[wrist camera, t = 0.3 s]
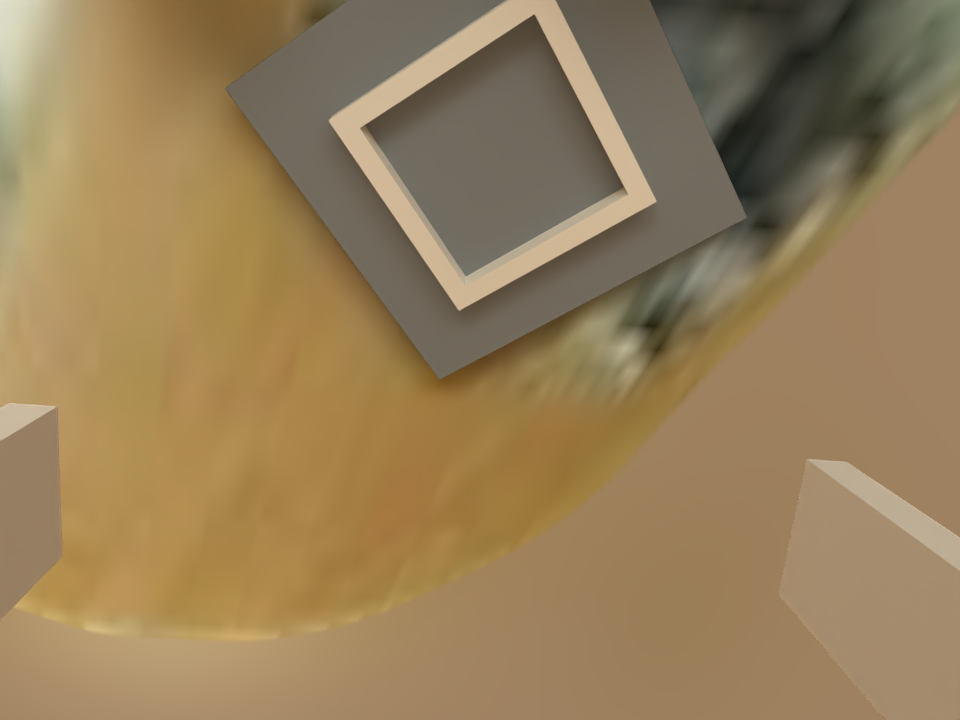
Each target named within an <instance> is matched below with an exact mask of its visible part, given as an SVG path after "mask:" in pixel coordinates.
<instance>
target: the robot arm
mask: <svg viewBox="0 0 960 720" xmlns="http://www.w3.org/2000/svg"><path fill="white" fill-rule="evenodd" d="M61 557H62V531H61V500H60V469H59V438H58V407H57V406H45V405H31V404H17V403H8V404H7V405H5V406H3V407H1V408H0V620H1V619H2V618H3V617H4V616H5V615H6V614H7V613H8V612H9V611H10V610H11V609H12V608H13V607H14V606H15V605H16V604H17V603H18V602H19V600H20V599H21V598H22V597H23V596H24V595H25V594H26V593H27V592H28V591H29V590H30V589H31V588H32V587H33V586H34V585H35V584H36V583H37V582H38V581H39V580H40V579H41V578H42V577H43V576H44V575H45V574H46V573H47V572H48V571H49V570H50V569H51V568H52V567H53V566H54V565H55V564H56V562H57V561H58V560H59V559H60V558H61ZM779 596H780V597H781V598H782V599H783V600H784V602H785V603H786V604H787V605H788V606H789V607H790V609H791V610H792V611H793V612H794V613H795V614H796V616H797V617H798V618H799V619H800V620H801V622H802V623H803V624H804V625H805V626H806V627H807V629H808V630H809V631H810V632H811V633H812V635H813V636H814V637H815V638H816V639H817V640H818V642H819V643H820V644H821V645H822V646H823V647H824V649H825V650H826V651H827V652H828V653H829V654H830V656H831V657H832V658H833V659H834V660H835V661H836V663H837V664H838V665H839V666H840V667H841V669H842V670H843V671H844V672H845V673H846V674H847V676H848V677H849V678H850V679H851V680H852V682H853V683H854V684H855V685H856V686H857V687H858V688H859V690H860V691H861V692H862V693H863V694H864V696H865V697H866V698H867V699H868V700H869V702H870V703H871V704H872V705H873V706H874V707H875V709H876V710H877V711H878V712H879V713H880V714H881V716H882V717H883V718H884V719H885V720H960V537H958V536H957V535H955V534H953V533H952V532H951V531H949V530H948V529H946V528H945V527H943V526H942V525H940V524H939V523H937V522H936V521H934V520H933V519H931V518H930V517H928V516H927V515H925V514H924V513H922V512H921V511H919V510H918V509H916V508H915V507H913V506H912V505H910V504H909V503H907V502H906V501H904V500H903V499H901V498H900V497H898V496H897V495H895V494H894V493H892V492H891V491H889V490H888V489H886V488H885V487H883V486H882V485H880V484H879V483H877V482H876V481H874V480H873V479H871V478H870V477H868V476H867V475H865V474H864V473H862V472H861V471H860V470H858V469H856V468H855V467H853V466H852V465H850V464H849V463H848V462H842V461H828V460H814V459H807V460H806V465H805V469H804V474H803V480H802V484H801V489H800V493H799V498H798V503H797V508H796V513H795V518H794V522H793V527H792V532H791V536H790V542H789V546H788V551H787V556H786V560H785V565H784V570H783V575H782V580H781V584H780V589H779Z"/></svg>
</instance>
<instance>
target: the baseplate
mask: <svg viewBox="0 0 960 720" xmlns="http://www.w3.org/2000/svg"><path fill="white" fill-rule="evenodd" d="M225 89H226V91H227V92H228V93H229V95H230V96H231V98H232V99H233V100H234V102H235V103H236V104H237V106H238V107H239V108H240V110H241V111H242V112H243V114H244V115H245V117H246V118H247V119H248V121H249V122H250V123H251V125H252V126H253V127H254V129H255V130H256V131H257V133H258V134H259V136H260V137H261V138H262V140H263V141H264V142H265V144H266V145H267V146H268V148H269V149H270V150H271V152H272V153H273V155H274V156H275V157H276V159H277V160H278V161H279V163H280V164H281V165H282V167H283V168H284V169H285V171H286V172H287V174H288V175H289V176H290V178H291V179H292V180H293V182H294V183H295V184H296V186H297V187H298V188H299V190H300V191H301V192H302V194H303V195H304V197H305V198H306V199H307V201H308V202H309V203H310V205H311V206H312V207H313V209H314V210H315V211H316V213H317V214H318V216H319V217H320V218H321V220H322V221H323V222H324V224H325V225H326V226H327V228H328V229H329V230H330V232H331V233H332V235H333V236H334V237H335V239H336V240H337V241H338V243H339V244H340V245H341V247H342V248H343V249H344V251H345V252H346V254H347V255H348V256H349V258H350V259H351V260H352V262H353V263H354V264H355V266H356V267H357V268H358V270H359V271H360V273H361V274H362V275H363V277H364V278H365V279H366V281H367V282H368V283H369V285H370V286H371V287H372V289H373V290H374V292H375V293H376V294H377V296H378V297H379V298H380V300H381V301H382V302H383V304H384V305H385V306H386V308H387V309H388V311H389V312H390V313H391V315H392V316H393V317H394V319H395V320H396V321H397V323H398V324H399V325H400V327H401V328H402V330H403V331H404V332H405V334H406V335H407V336H408V338H409V339H410V340H411V342H412V343H413V344H414V346H415V347H416V349H417V350H418V351H419V353H420V354H421V355H422V357H423V358H424V359H425V361H426V362H427V363H428V365H429V366H430V367H431V369H432V370H433V372H434V373H435V374H436V376H437V377H438V378H439V380H440V379H442V378H444V377H446V376H448V375H450V374H452V373H454V372H455V371H457V370H459V369H461V368H463V367H465V366H467V365H469V364H471V363H472V362H474V361H476V360H478V359H480V358H482V357H484V356H486V355H488V354H489V353H491V352H493V351H495V350H497V349H499V348H501V347H503V346H505V345H507V344H508V343H510V342H512V341H514V340H516V339H518V338H520V337H522V336H524V335H525V334H527V333H529V332H531V331H533V330H535V329H537V328H539V327H541V326H543V325H544V324H546V323H548V322H550V321H552V320H554V319H556V318H558V317H560V316H561V315H563V314H565V313H567V312H569V311H571V310H573V309H575V308H577V307H578V306H580V305H582V304H584V303H586V302H588V301H590V300H592V299H594V298H596V297H597V296H599V295H601V294H603V293H605V292H607V291H609V290H611V289H613V288H614V287H616V286H618V285H620V284H622V283H624V282H626V281H628V280H630V279H632V278H633V277H635V276H637V275H639V274H641V273H643V272H645V271H647V270H649V269H650V268H652V267H654V266H656V265H658V264H660V263H662V262H664V261H666V260H667V259H669V258H671V257H673V256H675V255H677V254H679V253H681V252H683V251H685V250H686V249H688V248H690V247H692V246H694V245H696V244H698V243H700V242H702V241H703V240H705V239H707V238H709V237H711V236H713V235H715V234H717V233H719V232H721V231H722V230H724V229H726V228H728V227H730V226H732V225H734V224H736V223H738V222H739V221H741V220H743V219H745V218H747V217H746V214H745V212H744V210H743V208H742V205H741V203H740V201H739V199H738V196H737V194H736V192H735V190H734V188H733V185H732V183H731V181H730V179H729V176H728V174H727V172H726V170H725V167H724V165H723V163H722V161H721V158H720V156H719V154H718V152H717V150H716V147H715V145H714V143H713V141H712V138H711V136H710V134H709V132H708V129H707V127H706V125H705V123H704V121H703V118H702V116H701V114H700V112H699V109H698V107H697V105H696V103H695V100H694V98H693V96H692V94H691V91H690V89H689V87H688V85H687V83H686V80H685V78H684V76H683V74H682V71H681V69H680V67H679V65H678V62H677V60H676V58H675V56H674V54H673V51H672V49H671V47H670V45H669V42H668V40H667V38H666V36H665V33H664V31H663V29H662V27H661V24H660V22H659V20H658V18H657V16H656V13H655V11H654V9H653V7H652V4H651V2H650V0H348V1H347V2H345V3H344V4H343V5H341V6H340V7H338V8H337V9H336V10H334V11H333V12H331V13H330V14H328V15H327V16H326V17H324V18H323V19H321V20H320V21H319V22H317V23H316V24H314V25H313V26H312V27H310V28H309V29H307V30H306V31H305V32H303V33H302V34H300V35H299V36H298V37H296V38H295V39H293V40H292V41H291V42H289V43H288V44H286V45H285V46H284V47H282V48H281V49H279V50H278V51H276V52H275V53H274V54H272V55H271V56H269V57H268V58H267V59H265V60H264V61H262V62H261V63H260V64H258V65H257V66H255V67H254V68H253V69H251V70H250V71H248V72H247V73H246V74H244V75H243V76H241V77H240V78H239V79H237V80H236V81H234V82H233V83H231V84H230V85H229V86H227V87H226V88H225Z"/></svg>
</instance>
